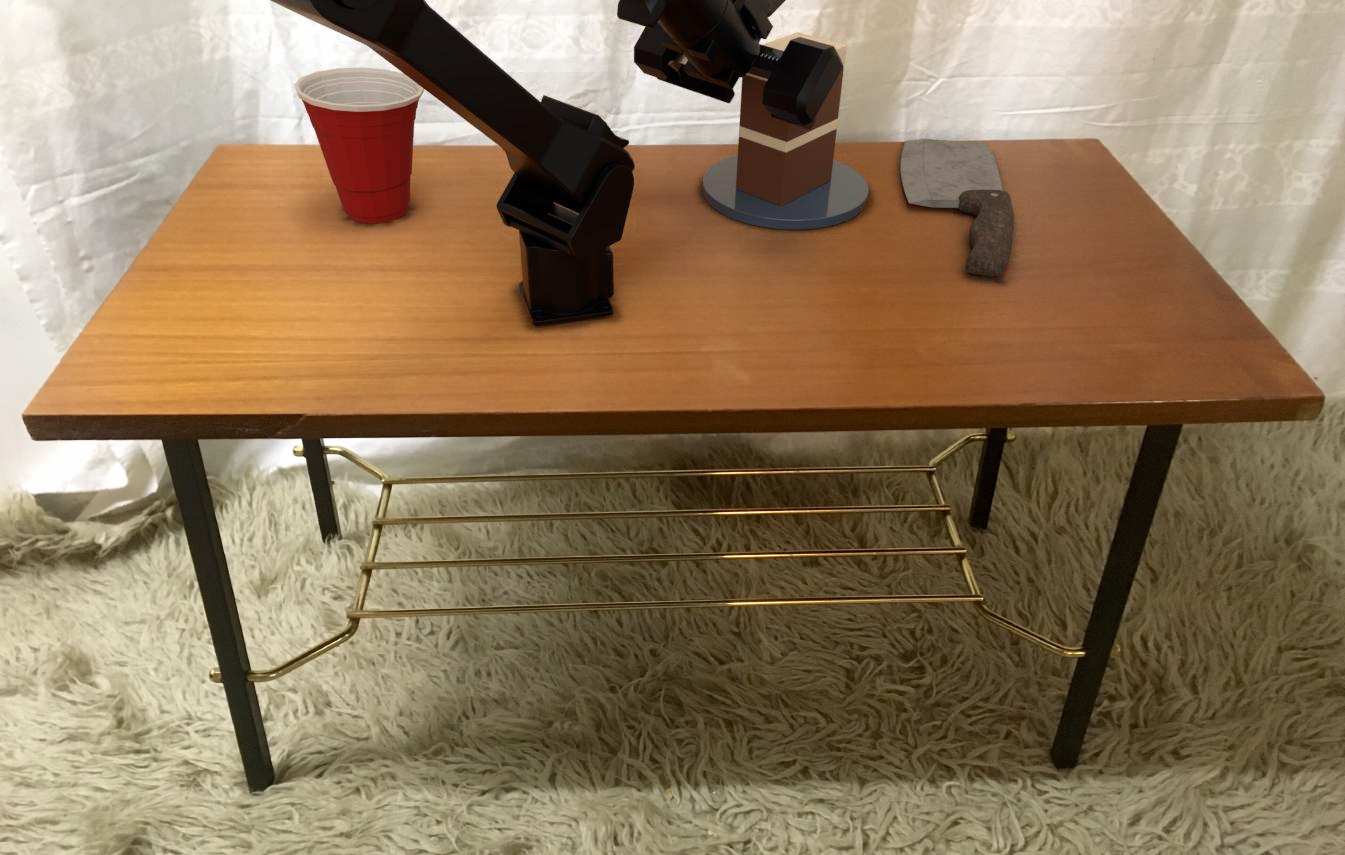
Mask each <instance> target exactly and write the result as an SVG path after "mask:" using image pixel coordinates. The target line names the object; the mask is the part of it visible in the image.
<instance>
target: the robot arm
mask: <svg viewBox="0 0 1345 855" xmlns="http://www.w3.org/2000/svg"><path fill="white" fill-rule="evenodd" d="M269 1H271V2H272V3H275V4H277V5H279V6H281V7H283V8H285V9H287V10H289V11H291V12H293V13H295V14H297V15H299V16H301V17H304V18H306V19H308V20H310V21H312V22H315V23H317V24H319V25H321V26H323V27H325V28H327V29H330V30H332V31H334V32H336V33H338V34H341V35H343V36H345V37H348V38H350V39H352V40H354V41H355V42H358V43H361V44H362V45H365V46H366V47H368V48H370V49H371V50H372V51H373V52H375V53H376V54H377V55H379V56H380V57H381V58H383V60H385V61H387V62H388V63H389V64H391V65H392V66H393V67H395V69H397V70H398V71H400V73H404V74H405V75H406V76H408V77H409V78H410V79H412V80H413V81H414V82H416V83H417V84H418V85H420V86H421V87H422V88H424V91H426V92H428V94H430V95H431V96H433V97H434V98H435V99H437V100H438V101H439V102H440V103H442V104H443V105H445V106H446V107H447V108H449V109H450V110H451V111H452V112H454V113H455V114H457V115H458V116H459V117H460V118H462V119H463V120H464V121H466V122H467V123H469V125H471V126H472V127H474V128H475V129H476V130H478V131H479V132H480V133H482V134H483V135H484V136H486V137H487V138H488V139H489V140H491V141H492V142H493V143H495V144H496V145H498V146H499V147H500V148H501V149H502V150H503V151H504V153H505V155H506V159H507V163H508V165H509V168H510V169H511V171H512V172H513V174H512V176H511V177H510V180H509V181H508V183H507V185H506V186H505V188H504V190H503V192H502V194H501V195H500V197H499V199H498V201H497V202H496V205H495V206H496V210H497V212H498V214H499V216H500V218H501V221H502V223H503V225H504V226H506V227H509V228H511V227H512V228H513V229H516V230H517V231H518V237H519V250H520V261H521V262H520V263H521V276H522V277H521V278H522V281H520V282H519V283H518V289H519V293H520V295H521V298H522V300H523V304H524V306H525V308H526V311H527V313H528V316H529V319H530V322H531V324H532V325H533V326H535V327H542V326H549V325H556V324H564V323H571V322H577V321H583V320H584V321H585V320H591V319H599V318H605V317H610V316H613V314H614V307H613V305H612V303H611V301H610V299H612V298H613V296H614V295H615V288H614V287H615V286H614V284H615V282H614V252H613V250H612V248H611V246H613V245H615V244H616V243H619V242H621V241H622V239H623V233H624V230H625V226H626V223H627V222H626V221H627V218H628V214H629V209H630V205H631V201H632V197H633V194H634V188H635V176H634V173H633V171H634V170H635V168H636V163H635V161H634V158H633V157H632V155H631V154H630V153H629V151H628V150H626V149H625V148H626V147H628V146H629V144H630V140H629V139H626V138H624V137H622V136H619V135H616V134H615V132H614V131H613V130H612V129H611V127H610V126H609V124H608V123H607V121H605V120H604V119H603V118H602V117H601V116H600V115H599V114H597V113H595V112H591V111H589V110H585V109H584V108H580V107H578V106H575V105H572V104H570V103H567V102H564V101H562V100H560V99H559V100H558V99H557V98H553V97H551V96H548V95H545V94H544V95H543V96H542V97H541V100H539V99H538V98H536V97H535V96H534V95H533V94H532V93H530V91H529V90H527V89H526V88H525V87H524V86H523V85H522V84H520V82H518V81H517V80H516V79H515V78H513V76H511V75H510V74H509V73H507V71H505V70H504V69H503V68H502V67H500V66H499V65H498V64H497V63H496V62H495V61H493V59H491V58H490V57H489V56H488V55H487V54H485V53H484V52H483V51H482V50H481V49H480V48H479V47H477V46H476V45H475V44H474V43H473V42H472V41H470V40H469V39H468V38H467V37H465V36H464V35H463V34H462V33H461V32H460V31H459V30H458V29H457V28H455V27H454V26H453V25H452V24H451V23H450V22H448V21H447V20H446V19H445V18H444V17H443V16H442V15H440V14H439V13H438V12H437V11H436V10H434V8H432V7H431V5H429V4H428V3H427V1H426V0H269ZM786 1H787V0H618V2H617V10H616V16H617V18H618V19H619V20H621V21H624V22H628V23H631V24H635V25H639V26H642V27H644V28H643V30H642V31H641V34H640V35H639V36H638V39H637V40H636V42H635V44H634V46H633V63H634V64H635V65H636V66H637V67H638V68H639V70H640V71H641V72H642V73H643V74H645V75H648V76H651V77H653V78H656V79H657V80H659V81H661V82H664V83H667V84H670V85H673V86H676V87H679V88H682V89H685V90H687V91H690V92H693V93H697V94H700V95H702V96H705V97H709V98H711V99H714V100H717V101H720V102H724V103H726V104H731V102H732V101H733V99H734V98H735V96H736V95H735V94H736V92H735V90H734V88H735V87H736V84H737V83H738V81H739V79H740V78H741V79H742V77H743V76H744V75H746V74H747V73H750V74H753V75H756V76H759V77H763V78H766V79H768V80H767V82H766V84H765V86H764V88H763V99H762V104H763V105H764V107H765V108H766V110H767V111H769V112H770V113H772V114H771V117H773V118H776V119H778V120H781V121H784V122H787V123H790V124H793V125H796V126H798V127H801V128H804V129H807V130H811V129H812V127H813V125H814V123H815V121H816V115H817V113H818V111H819V110H820V108H821V106H822V104H823V103H824V101H825V99H826V97H827V95H828V94H829V92H830V90H831V88H832V87H833V85H834V83H835V81H836V80H837V78H838V76H839V74H840V72H841V71H842V69H843V68H845V65H844V66H843V63H842V60H841V58H840V56H839V54H838V53H837V51H836V49H835V47H834V46H831V45H828V44H824V43H820V42H817V41H813V40H809V39H806V38H802V37H798V38H795V39H792V40H790V41H789V43H788V45H787V47H786V49H785V50H784V51H782V50H778V49H775V48H771V47H768V46H764V45H763V44H760V42H761V40H762V39H763V40H767V39H768V37H769V35H770V34H771V32H772V30H773V28H774V25H773V24H772V22H771V20H770V19H769V18H770V17H771V16H773V14H775V12H776V11H777V10H778V9H779V8H780V7H781V6H782V5H783V4H784V3H785V2H786Z"/></svg>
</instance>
